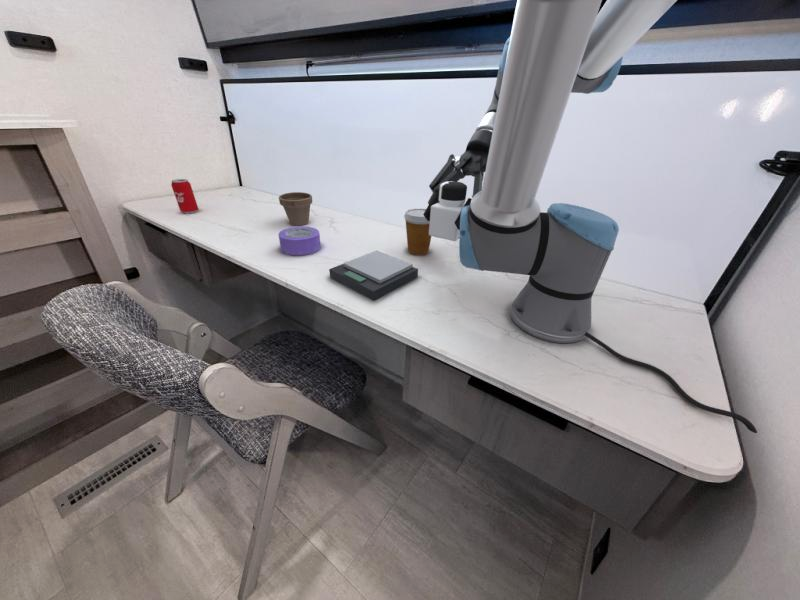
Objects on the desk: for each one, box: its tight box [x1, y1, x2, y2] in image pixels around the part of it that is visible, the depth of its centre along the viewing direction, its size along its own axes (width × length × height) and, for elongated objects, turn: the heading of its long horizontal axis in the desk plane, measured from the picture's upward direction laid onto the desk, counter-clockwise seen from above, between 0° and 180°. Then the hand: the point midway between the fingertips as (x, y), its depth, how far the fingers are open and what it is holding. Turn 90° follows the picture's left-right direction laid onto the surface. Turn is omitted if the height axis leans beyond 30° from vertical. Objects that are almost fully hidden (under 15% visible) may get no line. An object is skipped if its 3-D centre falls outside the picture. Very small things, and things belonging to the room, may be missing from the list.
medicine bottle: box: [429, 181, 468, 242], centre depth 71 cm, size 7×7×12 cm
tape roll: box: [277, 225, 322, 256], centre depth 93 cm, size 12×12×5 cm
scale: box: [328, 250, 419, 302], centre depth 78 cm, size 16×16×4 cm
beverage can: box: [170, 178, 199, 214], centre depth 119 cm, size 6×6×12 cm
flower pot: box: [278, 191, 313, 227], centre depth 111 cm, size 12×11×10 cm
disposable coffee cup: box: [403, 208, 432, 256], centre depth 91 cm, size 10×10×12 cm
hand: (441, 222), depth 70 cm, fingers closed on medicine bottle, 8 cm apart
